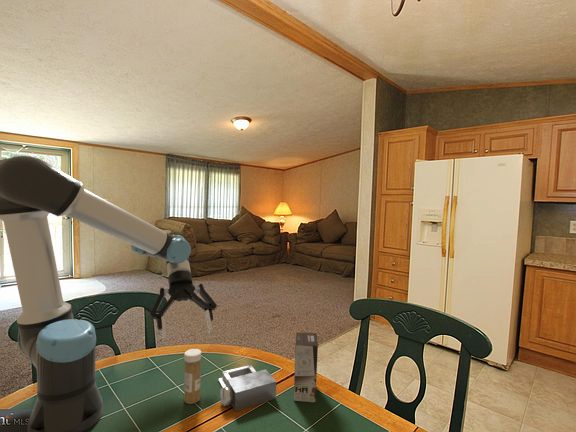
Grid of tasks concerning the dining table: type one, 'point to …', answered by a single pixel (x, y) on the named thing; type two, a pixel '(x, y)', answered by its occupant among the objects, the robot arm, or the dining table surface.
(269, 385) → the grey open drawer box
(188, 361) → the sprinkles bottle
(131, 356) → the dining table surface
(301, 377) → the coffee box
